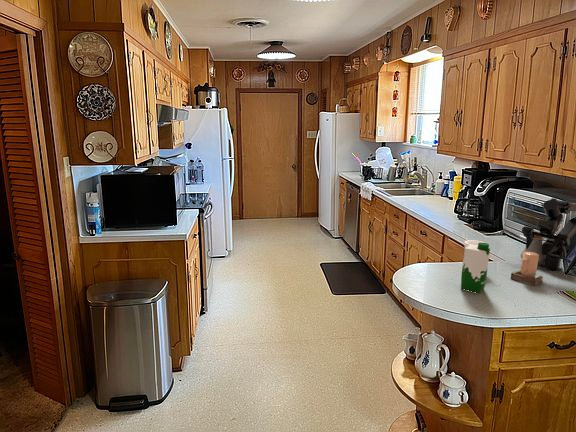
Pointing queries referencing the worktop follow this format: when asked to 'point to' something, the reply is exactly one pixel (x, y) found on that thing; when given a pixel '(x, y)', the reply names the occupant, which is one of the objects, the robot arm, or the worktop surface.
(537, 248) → the coffee pot
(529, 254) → the jug
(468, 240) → the foam cup
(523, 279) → the jug cradle
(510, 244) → the worktop surface
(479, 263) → the milk carton
